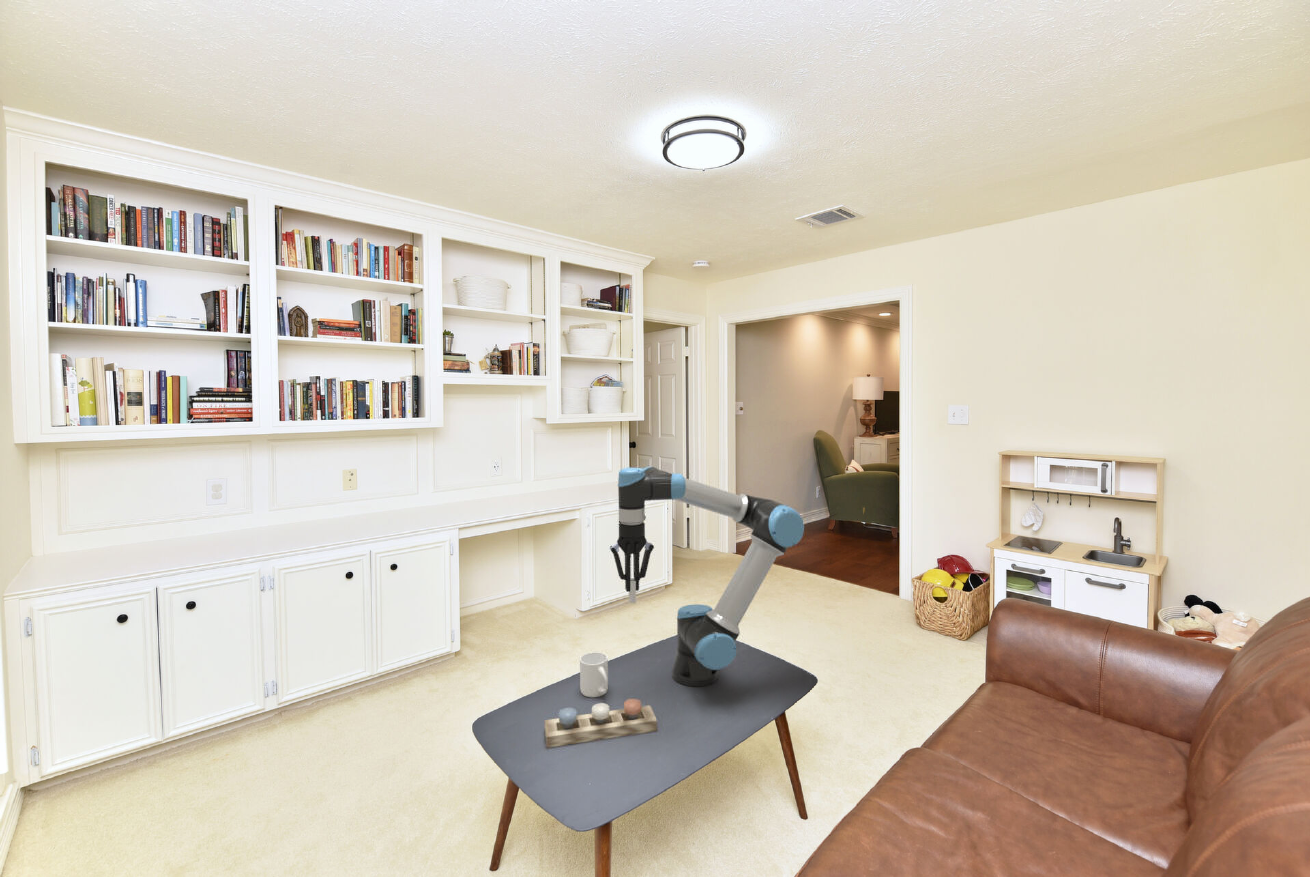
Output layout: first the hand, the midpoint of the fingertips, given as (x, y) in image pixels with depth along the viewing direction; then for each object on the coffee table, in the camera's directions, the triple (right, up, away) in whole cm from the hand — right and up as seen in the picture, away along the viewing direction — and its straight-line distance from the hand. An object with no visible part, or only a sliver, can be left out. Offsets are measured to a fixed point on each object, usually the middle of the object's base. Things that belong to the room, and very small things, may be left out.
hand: (632, 601), depth 169 cm
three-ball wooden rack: (-8, -33, -9) cm, 35 cm away
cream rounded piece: (-8, -31, -9) cm, 33 cm away
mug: (-11, -32, +11) cm, 36 cm away
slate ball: (-17, -31, -11) cm, 37 cm away
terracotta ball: (0, -31, -7) cm, 32 cm away
